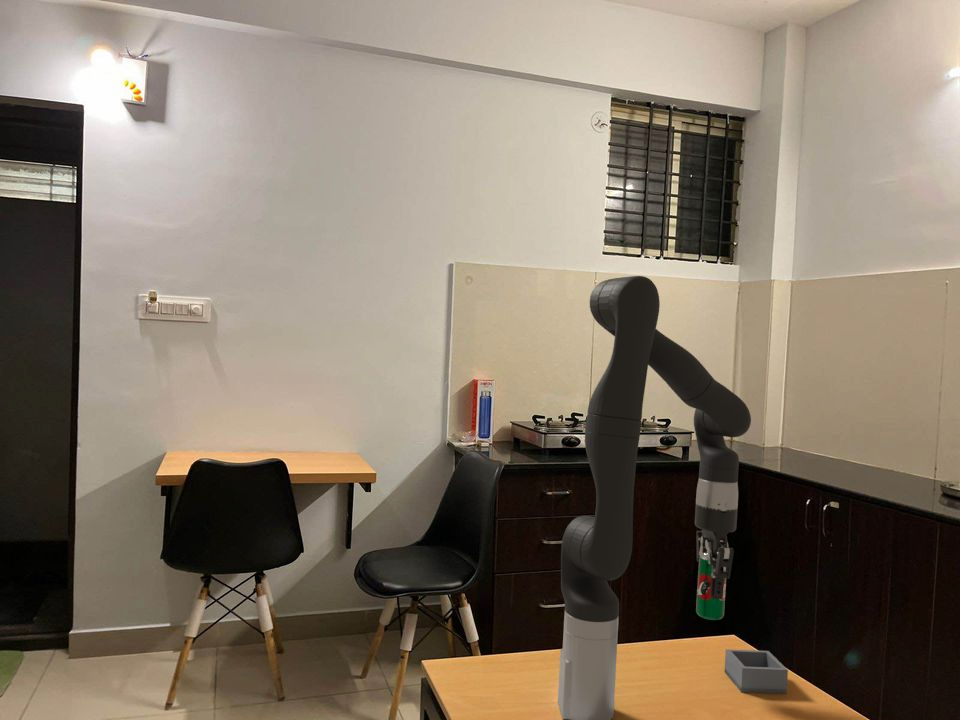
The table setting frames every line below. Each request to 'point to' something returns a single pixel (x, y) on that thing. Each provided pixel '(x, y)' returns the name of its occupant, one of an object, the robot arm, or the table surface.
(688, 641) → the table surface
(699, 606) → the soda can
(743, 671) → the grey hollow square box
